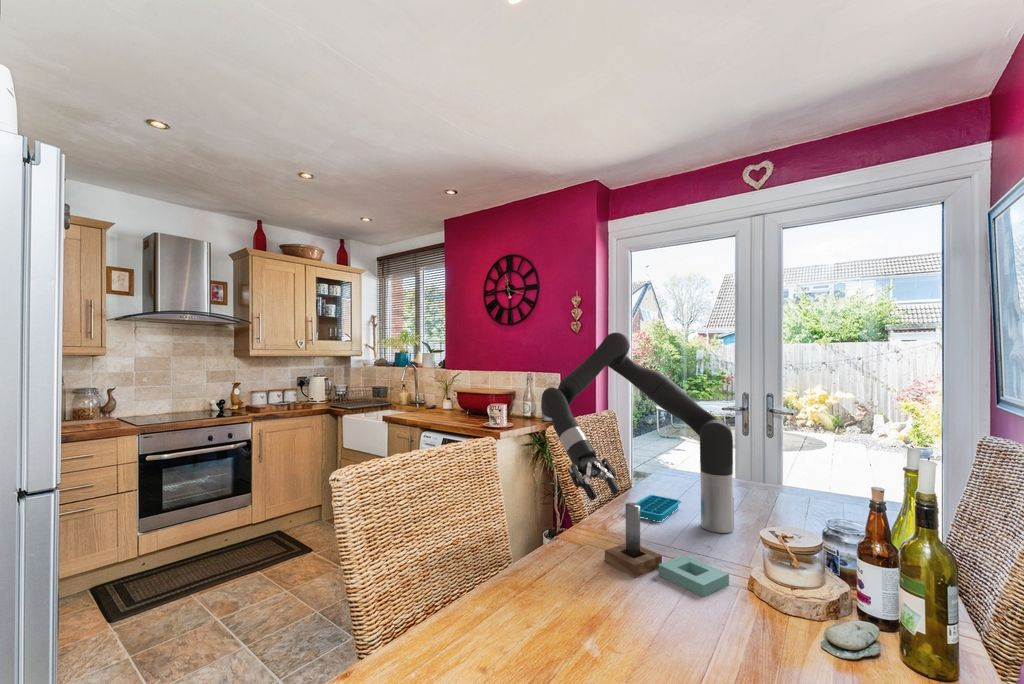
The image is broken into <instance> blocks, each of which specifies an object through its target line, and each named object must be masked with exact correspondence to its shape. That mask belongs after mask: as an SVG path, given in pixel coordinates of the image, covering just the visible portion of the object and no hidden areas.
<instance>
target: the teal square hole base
mask: <svg viewBox="0 0 1024 684" xmlns="http://www.w3.org/2000/svg"><path fill="white" fill-rule="evenodd" d="M657 570H658V576H660V577H662V578H664V579H667V580H668V581H670V582H672V583H675V584H676V585H678V586H680V587H682V588H684V589H687V590H688V591H690V592H693V593H695V594H697V595H699V596H701V597H702V598H704V597H706V596H708V595H711V594H712V593H714V592H717V591H719V590H721V589H722V588H725V587H728V586H730V573H728V572H726V571H723V570H721V569H718V568H716V567H714V566H712V565H709V564H706V563H704V562H702V561H699V560H697V559H695V558H693V557H690V556H687V555H685V554H682V555H679V556H677V557H674V558H671V559H669V560H666V561H664V562H663V561H662V563H661V564H658V569H657Z"/></svg>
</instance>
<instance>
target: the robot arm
mask: <svg viewBox="0 0 1024 684" xmlns="http://www.w3.org/2000/svg"><path fill="white" fill-rule="evenodd" d="M630 345H631V344H630V340H629V338H628V337H627V335H624V334H623V333H621V332H611V333H609V334H607V335H606V336H605V337H604V339H603V341H601V343H600V345H598V347H597V348H596V349H595V350H594V351H593V352H592V353H591V354H590V355H589V356H588V357H586V359H585V360H584V361H583V362H581V363H580V364H579V365H578V366H577V367H576V368H574V370H571V371H570V372H569V373H568V374H567V375H566V376H565V377H564V378H562V380H561V381H560V382H559V385H558V386H557V387H553V386H552V387H548V388H546V389H545V390H543V392H542V394H541V401H540V402H541V404H540V406H541V407H540V409H541V412H542V415H544V416H545V417H546V418H548V419H551V420H552V426H553V429H554V432H555V433H556V435H557V437H558V438H559V441H560V443H561V445H562V448H563V449H564V451H565V453H566V455H567V457H568V458H569V460H570V462H571V464H570V466H569V467H568V468H567V472H568V474H569V475H570V479H571V480H572V482H573V484H574V486H575V488H577V489H578V488H581V489H583V490H584V492H585V494H586V496H587V498H588V499H590V501H594V500H596V499H597V493H596V491H595V490H594V488H593V486H592V484H591V483H590V479H593V478H595V479H596V478H598V480H603V481H604V482H605V483H606V485H607V486H608V488H609V489H610V491H611V493H612V494H613V496H614V495H617V494H618V493H619V492H620V488H619V486H618V485H617V483H616V481H615V479H614V478H615V477H616V476H617V475H618V473H617V472H616V471H615V469H614V467H613V466H612V465H611V463H610V462H609V460H608V458H606V457H604V458H603V459H601V460H599V459H598V458H597V452H596V450H595V449H594V447H593V445H592V444H591V443H590V440H589V439H588V437H587V435H586V434H585V433H584V431H583V430H582V428H581V427H580V425H579V424H578V422H577V421H576V419H575V417H574V415H573V413H572V410H571V408H570V405H571V404H572V402H573V401H574V400H575V398H576V397H578V396H579V395H580V394H581V393H582V392H583V391H584V390H585V389H587V387H589V385H590V384H592V382H593V381H594V380H595V379H596V378H597V377H598V375H599V374H600V373H601V372H602V371H603V370H604V368H605V367H608V368H610V369H611V370H613V371H614V372H616V373H617V374H618V375H620V376H622V378H623V377H624V378H625V379H626V380H627V381H628V382H629V383H631V384H632V385H633V386H635V388H636V389H639V390H640V392H642V394H644V395H645V396H646V397H647V398H649V399H650V400H651V401H652V402H653V403H654V404H656V405H657V406H658V407H660V408H661V409H662V410H664V411H666V413H667V412H668V414H669V415H672V416H674V417H676V418H677V419H679V420H681V421H682V422H684V423H685V424H686V425H687V426H688V427H689V428H691V429H692V430H693V431H694V432H695V433H696V435H698V437H699V454H700V455H699V464H700V465H699V466H700V526H701V528H702V529H705V530H706V531H709V532H713V533H719V534H729V533H733V531H734V529H735V498H734V485H733V482H734V481H733V476H734V473H733V472H734V444H733V443H734V437H733V432H732V430H731V427H729V425H728V424H727V423H726V422H724V421H723V420H721V419H720V418H718V417H716V416H715V415H713V414H712V413H710V412H709V411H707V410H705V409H704V408H703V407H701V406H700V405H699V404H698V403H697V402H696V401H695V400H694V399H693V398H692V397H691V396H690V395H689V394H688V393H686V391H685V390H683V389H682V388H681V387H680V386H679V385H677V383H675V382H674V381H673V380H671V379H670V378H669V377H668V376H666V375H665V374H664V373H662V372H660V371H657V370H653V369H650V368H646V367H643V366H642V365H639V364H638V363H636V362H634V361H633V360H632V359H631V358H630V357H629V356H628V353H629V350H630V347H631V346H630Z"/></svg>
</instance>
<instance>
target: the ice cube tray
mask: <svg viewBox="0 0 1024 684" xmlns="http://www.w3.org/2000/svg"><path fill="white" fill-rule="evenodd" d="M636 503H637V504H639V505H640V517H644V518H648V519H651V520H655V521H662V520H663V519H665V518H666V517H667V516H669V515H670V514H671V513H672V512H673V511H675V510H676V509H677V508H678V509H679V505H680V504H681V503H682V500H680V499H676V498H671V497H666V496H661V495H655V494H649V495H647V496H645V497H643V498H641V499H640V500H638V501H637V502H636ZM675 512H676V511H675ZM671 515H672V514H671ZM671 515H670V516H671ZM670 516H669V517H670ZM667 518H668V517H667ZM667 518H666V519H667ZM666 519H665V520H666ZM655 521H654V522H655ZM662 522H663V521H662Z"/></svg>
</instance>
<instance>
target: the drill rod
mask: <svg viewBox="0 0 1024 684" xmlns="http://www.w3.org/2000/svg"><path fill="white" fill-rule="evenodd" d="M625 544H626V555H628V556H630V557H632V558H637V557H640V546H641V518H640V505H639V504H637V502H627V503H625Z"/></svg>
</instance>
